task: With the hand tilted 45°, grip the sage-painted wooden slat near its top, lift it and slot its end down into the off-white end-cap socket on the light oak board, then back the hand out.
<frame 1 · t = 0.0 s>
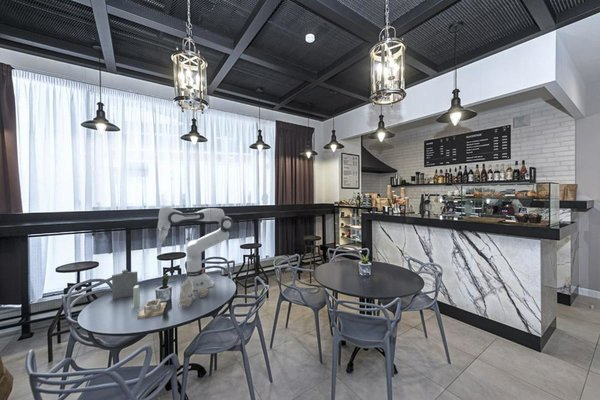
hand: (162, 243, 196), 39 cm above the table, tool pointing down, fingers open, 8 cm apart
hip flask: (125, 296, 188), on the table
slat: (136, 306, 170), on the table
end cap stand: (152, 311, 163), on the table
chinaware: (191, 301, 178), on the table
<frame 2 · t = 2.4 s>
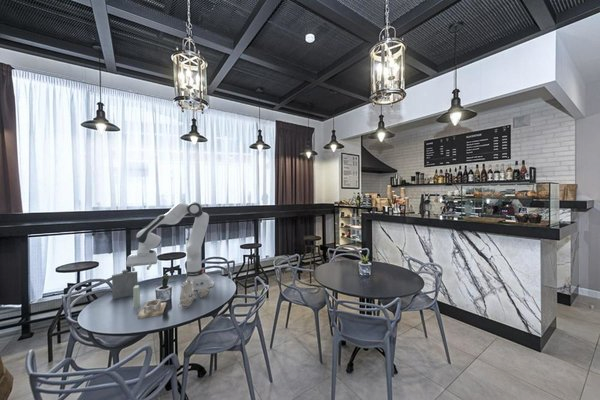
hand: (140, 270, 181), 22 cm above the table, tool tilted 45°, fingers open, 8 cm apart
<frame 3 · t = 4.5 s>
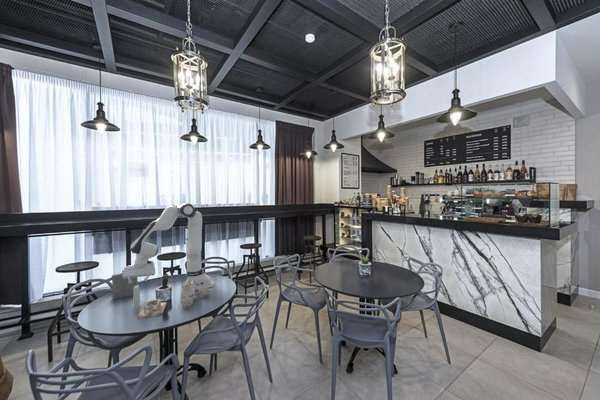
hand: (137, 281, 174), 16 cm above the table, tool tilted 45°, fingers open, 8 cm apart
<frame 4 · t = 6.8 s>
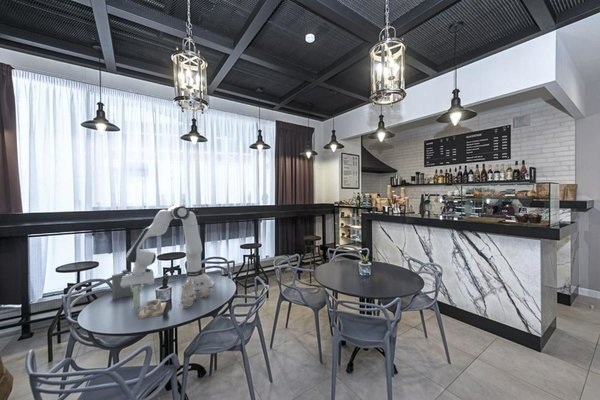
hand: (136, 291, 169), 11 cm above the table, tool tilted 45°, fingers closed on slat, 2 cm apart
slat: (136, 306, 170), on the table, touching gripper
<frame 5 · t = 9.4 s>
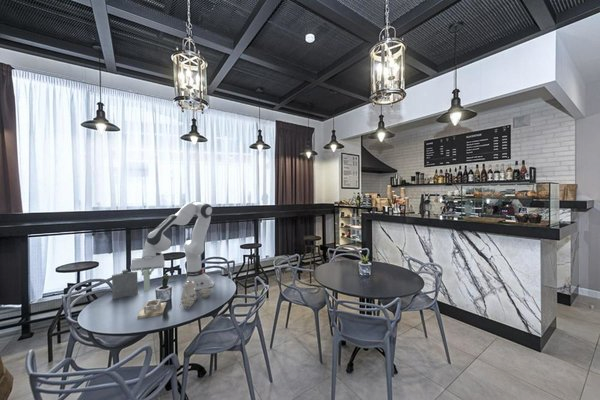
hand: (146, 274, 164), 24 cm above the table, tool tilted 45°, fingers closed on slat, 2 cm apart
slat: (147, 290, 165), point 13 cm above the table, touching gripper
when the fingers open (13 cm above the table, at t = 11.9 s): slat drops 1 cm, resting on end cap stand.
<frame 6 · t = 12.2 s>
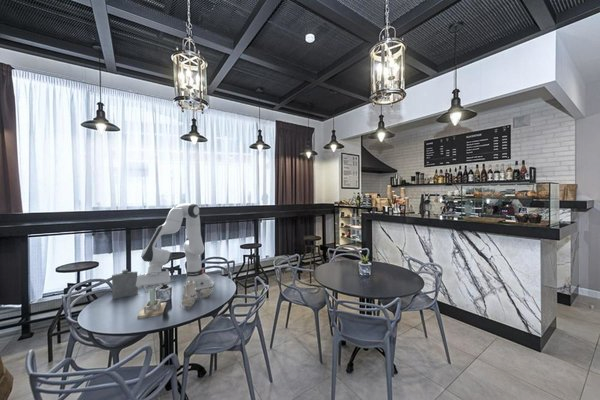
hand: (152, 291, 162), 13 cm above the table, tool tilted 45°, fingers open, 5 cm apart
slat: (152, 308, 163), point 1 cm above the table, touching end cap stand
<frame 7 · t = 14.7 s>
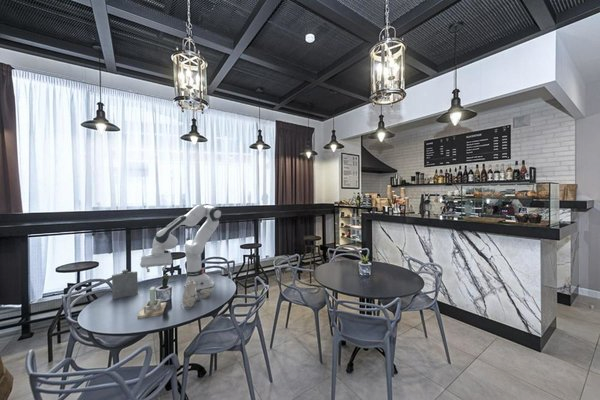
hand: (155, 271, 174), 23 cm above the table, tool tilted 45°, fingers open, 8 cm apart
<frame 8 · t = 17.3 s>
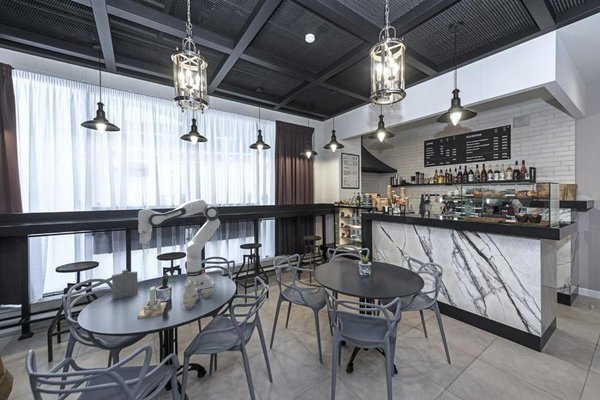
hand: (145, 247, 188), 37 cm above the table, tool pointing down, fingers open, 8 cm apart
at the end: slat 0.1 cm off-centre on the end cap stand, point 1.5 cm above the end cap stand's base; slat tilted 0°; the gripper is holding nothing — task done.
